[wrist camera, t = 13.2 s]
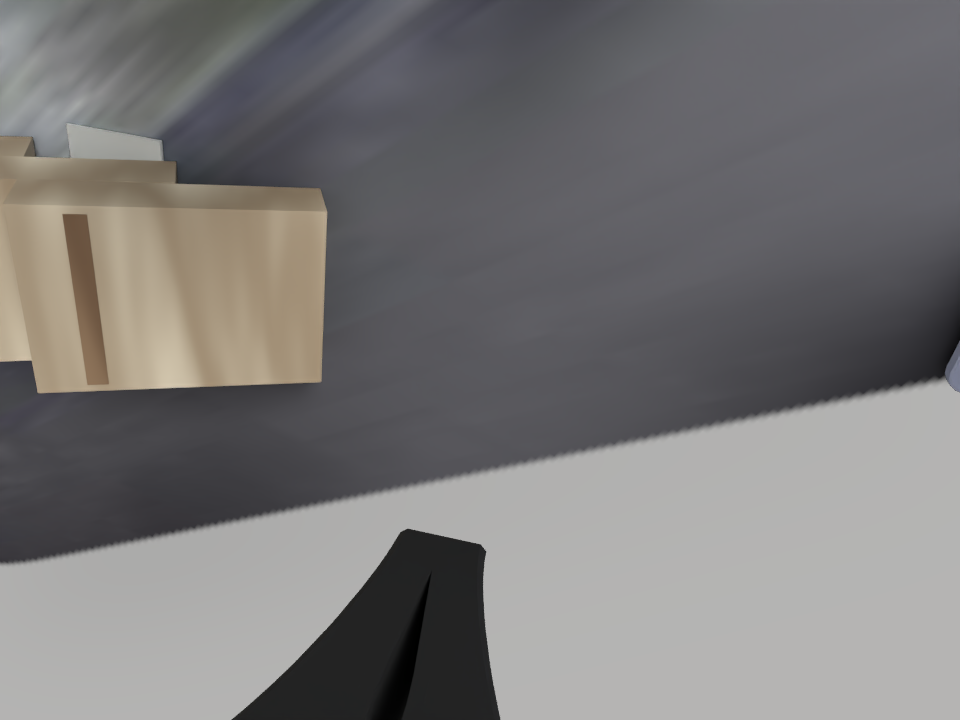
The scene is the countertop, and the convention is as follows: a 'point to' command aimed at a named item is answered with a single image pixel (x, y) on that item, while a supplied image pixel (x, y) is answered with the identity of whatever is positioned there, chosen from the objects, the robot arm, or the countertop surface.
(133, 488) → the countertop surface
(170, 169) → the tile
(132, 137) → the plate
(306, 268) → the tile
